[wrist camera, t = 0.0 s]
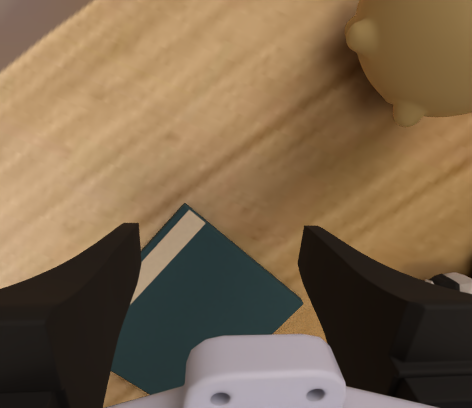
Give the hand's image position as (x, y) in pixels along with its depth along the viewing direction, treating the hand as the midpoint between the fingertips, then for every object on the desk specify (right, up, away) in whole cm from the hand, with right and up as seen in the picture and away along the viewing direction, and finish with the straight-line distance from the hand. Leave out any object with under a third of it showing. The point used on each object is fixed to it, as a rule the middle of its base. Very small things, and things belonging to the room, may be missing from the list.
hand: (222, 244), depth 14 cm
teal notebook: (-4, -8, +13) cm, 15 cm away
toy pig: (+12, +13, +9) cm, 20 cm away
